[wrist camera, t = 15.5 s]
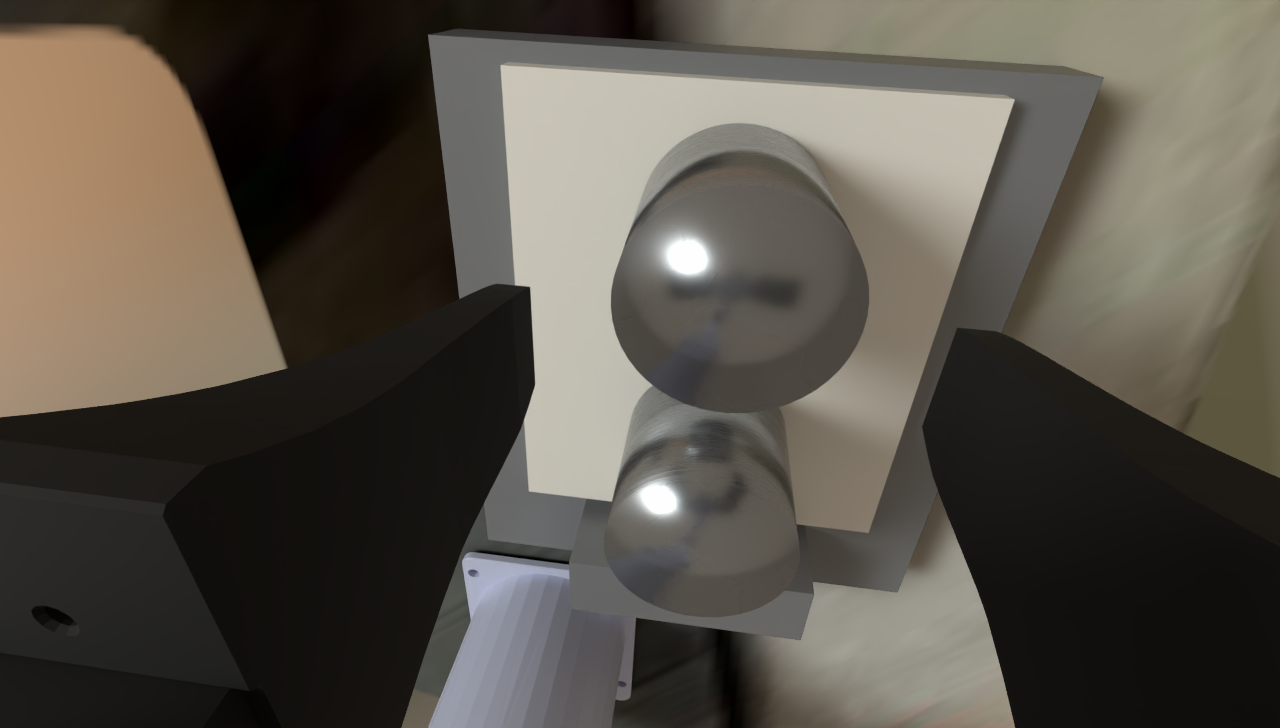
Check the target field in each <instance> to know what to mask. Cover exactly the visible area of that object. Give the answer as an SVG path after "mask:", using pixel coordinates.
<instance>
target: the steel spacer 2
mask: <svg viewBox="0 0 1280 728" xmlns="http://www.w3.org/2000/svg"><path fill="white" fill-rule="evenodd" d="M604 551H605V556H606V559H607V562H608V565H609V566H610V568H611V570H612V572H613V573H614V575H615V576H616V577H617V579H618V580H619V581H620V582H621V583H622V584H623V585H624V586H625V587H626V588H627V589H628V590H629V591H631V592H632V593H633V594H634V595H636V596H638V597H639V598H641V599H642V600H644V601H646V602H648V603H650V604H652V605H654V606H656V607H659V608H661V609H664V610H667V611H670V612H674V613H678V614H682V615H687V616H695V617H726V616H733V615H738V614H742V613H746V612H749V611H752V610H755V609H757V608H760V607H762V606H764V605H766V604H768V603H769V602H771V601H773V600H774V599H775V598H777V597H778V596H779V595H780V594H782V593H783V592H784V591H785V589H786V588H787V587H788V586H789V585H790V583H791V582H792V580H793V579H794V577H795V574H796V572H797V570H798V565H799V560H800V550H799V541H798V532H797V524H796V515H795V506H794V497H793V489H792V480H791V471H790V462H789V454H788V445H787V436H786V428H785V421H784V418H783V415H782V413H781V411H780V409H779V407H778V408H774V409H770V410H765V411H760V412H752V413H722V412H713V411H708V410H704V409H699V408H696V407H693V406H690V405H687V404H684V403H682V402H680V401H678V400H676V399H673V398H671V397H670V396H668V395H666V394H665V393H663V392H661V391H660V390H658V389H657V388H656V387H654V386H653V385H652V386H651V387H650V388H649V389H648V390H647V391H646V392H645V393H644V394H643V395H642V396H641V398H640V399H639V400H638V402H637V404H636V406H635V408H634V410H633V413H632V416H631V421H630V425H629V429H628V434H627V438H626V442H625V447H624V451H623V455H622V460H621V464H620V468H619V473H618V477H617V482H616V486H615V490H614V495H613V499H612V503H611V508H610V512H609V516H608V521H607V525H606V529H605V535H604Z"/></svg>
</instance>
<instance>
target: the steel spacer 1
mask: <svg viewBox="0 0 1280 728" xmlns="http://www.w3.org/2000/svg"><path fill="white" fill-rule="evenodd" d="M868 308H869V284H868V278H867V273H866V269H865V266H864V263H863V260H862V257H861V255H860V253H859V250H858V248H857V246H856V244H855V242H854V240H853V237H852V235H851V233H850V231H849V229H848V227H847V224H846V222H845V220H844V218H843V216H842V213H841V211H840V209H839V207H838V205H837V203H836V200H835V198H834V196H833V194H832V192H831V190H830V187H829V185H828V183H827V181H826V179H825V177H824V175H823V173H822V171H821V169H820V167H819V165H818V164H817V163H816V161H815V160H814V158H813V157H812V156H811V155H810V154H809V153H808V152H807V151H806V150H805V149H804V148H803V146H801V145H800V144H799V143H797V142H796V141H795V140H793V139H792V138H790V137H789V136H787V135H785V134H783V133H781V132H779V131H777V130H774V129H771V128H769V127H765V126H760V125H756V124H747V123H732V124H723V125H718V126H713V127H710V128H707V129H704V130H701V131H699V132H697V133H695V134H693V135H691V136H689V137H687V138H685V139H684V140H682V141H681V142H679V143H678V144H677V145H675V146H674V147H673V148H672V149H671V150H670V151H669V152H667V153H666V155H665V156H664V157H663V158H662V159H661V160H660V161H659V163H658V164H657V166H656V167H655V169H654V170H653V172H652V173H651V175H650V177H649V179H648V181H647V183H646V185H645V188H644V191H643V194H642V197H641V200H640V203H639V205H638V208H637V211H636V214H635V217H634V220H633V223H632V225H631V228H630V231H629V234H628V237H627V240H626V243H625V245H624V248H623V251H622V254H621V257H620V260H619V263H618V266H617V269H616V272H615V275H614V278H613V284H612V289H611V314H612V321H613V325H614V329H615V333H616V336H617V338H618V341H619V343H620V345H621V348H622V349H623V351H624V353H625V355H626V356H627V358H628V360H629V361H630V362H631V364H632V365H633V366H634V367H635V369H636V370H637V371H638V372H639V373H640V374H641V375H642V376H643V377H644V378H645V379H646V380H647V381H648V382H649V383H651V384H652V385H653V386H654V387H656V388H657V389H658V390H660V391H661V392H663V393H665V394H666V395H668V396H670V397H671V398H673V399H676V400H678V401H680V402H682V403H684V404H687V405H690V406H693V407H696V408H699V409H704V410H708V411H713V412H722V413H752V412H760V411H765V410H770V409H774V408H778V407H781V406H784V405H787V404H790V403H792V402H794V401H796V400H799V399H801V398H803V397H805V396H807V395H808V394H810V393H812V392H813V391H815V390H817V389H818V388H819V387H821V386H822V385H823V384H825V383H826V382H827V381H829V380H830V379H831V378H832V377H833V376H834V375H835V374H836V373H837V372H838V371H839V370H840V369H841V368H842V366H843V365H844V364H845V363H846V361H847V360H848V359H849V358H850V356H851V354H852V353H853V351H854V350H855V348H856V346H857V344H858V342H859V340H860V338H861V335H862V333H863V330H864V327H865V323H866V320H867V316H868Z"/></svg>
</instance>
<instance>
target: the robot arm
mask: <svg viewBox="0 0 1280 728" xmlns="http://www.w3.org/2000/svg"><path fill="white" fill-rule="evenodd" d="M534 387H535V369H534V350H533V331H532V312H531V293H530V287H527V286H517V285H506V284H493V285H490V286H487V287H485V288H482V289H480V290H478V291H475V292H473V293H471V294H469V295H467V296H465V297H463V298H460V299H458V300H456V301H454V302H452V303H450V304H448V305H446V306H444V307H442V308H440V309H438V310H436V311H434V312H432V313H429V314H427V315H425V316H423V317H421V318H419V319H417V320H415V321H413V322H410V323H408V324H406V325H404V326H401V327H399V328H397V329H394V330H392V331H390V332H387V333H385V334H383V335H380V336H378V337H376V338H373V339H371V340H369V341H367V342H364V343H362V344H359V345H356V346H354V347H351V348H349V349H346V350H343V351H340V352H338V353H335V354H332V355H329V356H326V357H323V358H320V359H317V360H314V361H311V362H307V363H304V364H301V365H298V366H294V367H291V368H288V369H284V370H280V371H276V372H272V373H268V374H264V375H260V376H256V377H252V378H248V379H245V380H241V381H237V382H233V383H229V384H225V385H220V386H216V387H211V388H206V389H201V390H196V391H191V392H186V393H181V394H175V395H170V396H163V397H158V398H152V399H147V400H141V401H134V402H127V403H121V404H114V405H107V406H98V407H89V408H81V409H73V410H65V411H56V412H47V413H39V414H30V415H20V416H10V417H1V418H0V728H401V727H402V723H403V720H404V717H405V714H406V711H407V708H408V705H409V701H410V698H411V695H412V692H413V689H414V686H415V683H416V680H417V676H418V673H419V670H420V667H421V664H422V661H423V658H424V655H425V652H426V649H427V646H428V643H429V640H430V637H431V634H432V631H433V629H434V626H435V623H436V620H437V617H438V614H439V611H440V608H441V605H442V602H443V600H444V597H445V594H446V591H447V589H448V586H449V583H450V581H451V578H452V575H453V573H454V570H455V567H456V564H457V562H458V559H459V556H460V554H461V551H462V548H463V546H464V544H465V542H466V539H467V537H468V535H469V533H470V531H471V528H472V526H473V524H474V522H475V520H476V518H477V516H478V514H479V512H480V510H481V508H482V506H483V504H484V502H485V500H486V498H487V496H488V494H489V492H490V490H491V488H492V486H493V485H494V483H495V481H496V479H497V477H498V475H499V473H500V471H501V469H502V467H503V465H504V463H505V461H506V459H507V457H508V455H509V453H510V451H511V449H512V447H513V445H514V443H515V441H516V438H517V436H518V434H519V432H520V430H521V428H522V425H523V422H524V419H525V416H526V413H527V410H528V407H529V404H530V400H531V397H532V394H533V391H534ZM922 429H923V434H924V440H925V445H926V450H927V455H928V459H929V463H930V467H931V471H932V476H933V479H934V481H935V484H936V487H937V489H938V492H939V495H940V497H941V500H942V502H943V505H944V507H945V510H946V513H947V515H948V518H949V520H950V523H951V525H952V528H953V530H954V533H955V535H956V538H957V540H958V543H959V545H960V548H961V550H962V553H963V555H964V558H965V560H966V563H967V565H968V568H969V570H970V573H971V575H972V578H973V580H974V583H975V585H976V588H977V590H978V593H979V596H980V599H981V601H982V604H983V607H984V610H985V613H986V616H987V619H988V622H989V626H990V630H991V634H992V637H993V641H994V645H995V648H996V652H997V656H998V659H999V663H1000V667H1001V671H1002V674H1003V678H1004V682H1005V686H1006V691H1007V695H1008V699H1009V703H1010V707H1011V712H1012V716H1013V720H1014V724H1015V728H1280V478H1278V477H1276V476H1274V475H1271V474H1269V473H1267V472H1265V471H1262V470H1260V469H1258V468H1256V467H1253V466H1251V465H1249V464H1247V463H1245V462H1243V461H1240V460H1238V459H1236V458H1233V457H1231V456H1229V455H1227V454H1225V453H1223V452H1221V451H1218V450H1216V449H1214V448H1212V447H1210V446H1207V445H1205V444H1203V443H1201V442H1199V441H1197V440H1195V439H1193V438H1191V437H1189V436H1187V435H1185V434H1183V433H1181V432H1179V431H1177V430H1176V429H1174V428H1172V427H1170V426H1168V425H1166V424H1164V423H1162V422H1160V421H1159V420H1157V419H1155V418H1153V417H1151V416H1149V415H1147V414H1145V413H1143V412H1142V411H1140V410H1138V409H1136V408H1134V407H1132V406H1131V405H1129V404H1127V403H1125V402H1123V401H1122V400H1120V399H1118V398H1116V397H1115V396H1113V395H1111V394H1109V393H1108V392H1106V391H1104V390H1102V389H1101V388H1099V387H1097V386H1095V385H1094V384H1092V383H1090V382H1089V381H1087V380H1085V379H1083V378H1082V377H1080V376H1078V375H1077V374H1075V373H1073V372H1072V371H1070V370H1068V369H1066V368H1065V367H1063V366H1061V365H1060V364H1058V363H1056V362H1054V361H1053V360H1051V359H1049V358H1048V357H1046V356H1044V355H1042V354H1041V353H1039V352H1037V351H1035V350H1034V349H1032V348H1030V347H1028V346H1026V345H1024V344H1023V343H1021V342H1019V341H1017V340H1015V339H1013V338H1011V337H1009V336H1007V335H1004V334H1002V333H999V332H997V331H988V330H978V329H967V328H957V329H956V332H955V335H954V338H953V341H952V343H951V346H950V349H949V352H948V355H947V358H946V360H945V363H944V366H943V369H942V372H941V374H940V377H939V380H938V383H937V386H936V388H935V391H934V394H933V397H932V400H931V402H930V405H929V408H928V411H927V414H926V417H925V419H924V422H923V425H922ZM462 565H463V571H464V578H465V584H466V591H467V597H468V604H469V610H470V617H471V622H470V625H469V627H468V630H467V632H466V635H465V637H464V640H463V642H462V645H461V647H460V650H459V652H458V655H457V657H456V660H455V662H454V665H453V667H452V670H451V672H450V675H449V677H448V680H447V682H446V685H445V687H444V690H443V692H442V694H441V697H440V700H439V702H438V704H437V707H436V710H435V712H434V714H433V717H432V719H431V722H430V724H429V727H428V728H611V725H612V719H613V712H614V706H615V700H627V699H629V698H630V696H631V689H632V673H633V658H634V643H635V628H636V618H634V617H627V616H620V615H612V614H605V613H598V612H591V611H583V610H576V609H570V583H569V565H568V564H560V563H553V562H545V561H538V560H530V559H522V558H515V557H507V556H499V555H492V554H484V553H477V552H470V553H467V554H466V555H465V557H464V559H463V562H462Z"/></svg>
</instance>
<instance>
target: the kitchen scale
mask: <svg viewBox="0 0 1280 728" xmlns="http://www.w3.org/2000/svg"><path fill="white" fill-rule="evenodd" d="M428 37H429V46H430V54H431V62H432V71H433V79H434V88H435V96H436V104H437V113H438V121H439V129H440V138H441V146H442V155H443V163H444V171H445V180H446V188H447V197H448V205H449V213H450V222H451V230H452V239H453V247H454V255H455V264H456V272H457V280H458V289H459V297H460V298H463V297H465V296H467V295H469V294H471V293H473V292H475V291H478V290H480V289H482V288H485V287H487V286H490V285H493V284H506V285H517V286H527V287H530V293H531V312H532V331H533V350H534V369H535V387H534V391H533V394H532V397H531V400H530V404H529V407H528V410H527V413H526V416H525V419H524V422H523V425H522V428H521V430H520V432H519V434H518V436H517V438H516V441H515V443H514V445H513V447H512V449H511V451H510V453H509V455H508V457H507V459H506V461H505V463H504V465H503V467H502V469H501V471H500V473H499V475H498V477H497V479H496V481H495V483H494V485H493V486H492V488H491V490H490V492H489V494H488V496H487V498H486V500H485V502H484V507H485V515H486V524H487V532H488V540H496V541H503V542H511V543H519V544H527V545H534V546H542V547H550V548H558V549H565V550H572V553H571V557H570V561H569V583H570V609H576V610H583V611H591V612H598V613H605V614H612V615H620V616H627V617H634V618H642V619H649V620H656V621H664V622H671V623H678V624H685V625H693V626H700V627H707V628H715V629H722V630H729V631H737V632H744V633H751V634H758V635H766V636H773V637H780V638H788V639H795V640H801V637H802V634H803V630H804V627H805V624H806V620H807V617H808V613H809V610H810V607H811V603H812V600H813V596H814V590H813V582H821V583H828V584H836V585H844V586H851V587H859V588H867V589H875V590H882V591H890V592H898V590H899V588H900V585H901V583H902V580H903V578H904V575H905V573H906V570H907V568H908V565H909V563H910V560H911V558H912V555H913V553H914V550H915V548H916V545H917V543H918V540H919V538H920V535H921V533H922V530H923V528H924V525H925V523H926V520H927V518H928V515H929V513H930V510H931V508H932V505H933V503H934V500H935V498H936V495H937V493H938V489H937V487H936V484H935V481H934V479H933V476H932V471H931V467H930V463H929V459H928V455H927V450H926V445H925V440H924V434H923V429H922V425H923V422H924V419H925V417H926V414H927V411H928V408H929V405H930V402H931V400H932V397H933V394H934V391H935V388H936V386H937V383H938V380H939V377H940V374H941V372H942V369H943V366H944V363H945V360H946V358H947V355H948V352H949V349H950V346H951V343H952V341H953V338H954V335H955V332H956V329H957V328H967V329H978V330H988V331H997V332H999V333H1002V330H1003V328H1004V325H1005V323H1006V321H1007V318H1008V316H1009V313H1010V311H1011V308H1012V306H1013V303H1014V301H1015V298H1016V296H1017V293H1018V291H1019V288H1020V286H1021V283H1022V281H1023V278H1024V276H1025V273H1026V271H1027V268H1028V266H1029V263H1030V261H1031V258H1032V256H1033V253H1034V251H1035V248H1036V246H1037V243H1038V241H1039V238H1040V236H1041V233H1042V231H1043V228H1044V226H1045V223H1046V221H1047V218H1048V216H1049V213H1050V211H1051V208H1052V206H1053V203H1054V201H1055V198H1056V196H1057V193H1058V191H1059V188H1060V186H1061V183H1062V181H1063V178H1064V176H1065V173H1066V171H1067V168H1068V166H1069V163H1070V161H1071V158H1072V156H1073V153H1074V151H1075V148H1076V146H1077V143H1078V141H1079V138H1080V136H1081V133H1082V131H1083V128H1084V126H1085V123H1086V121H1087V118H1088V116H1089V113H1090V111H1091V108H1092V106H1093V103H1094V101H1095V98H1096V96H1097V93H1098V91H1099V88H1100V86H1101V83H1102V81H1103V78H1104V77H1100V76H1097V75H1093V74H1090V73H1086V72H1082V71H1079V70H1075V69H1072V68H1068V67H1064V66H1048V65H1032V64H1016V63H1000V62H984V61H968V60H952V59H936V58H920V57H903V56H887V55H871V54H855V53H839V52H823V51H807V50H791V49H775V48H759V47H743V46H726V45H710V44H694V43H678V42H662V41H646V40H630V39H614V38H598V37H582V36H566V35H549V34H533V33H517V32H501V31H485V30H469V29H454V30H449V31H445V32H440V33H435V34H430V35H428ZM732 123H747V124H756V125H760V126H765V127H769V128H771V129H774V130H777V131H779V132H781V133H783V134H785V135H787V136H789V137H790V138H792V139H793V140H795V141H796V142H797V143H799V144H800V145H801V146H803V148H804V149H805V150H806V151H807V152H808V153H809V154H810V155H811V156H812V157H813V158H814V160H815V161H816V163H817V164H818V165H819V167H820V169H821V171H822V173H823V175H824V177H825V179H826V181H827V183H828V185H829V187H830V190H831V192H832V194H833V196H834V198H835V200H836V203H837V205H838V207H839V209H840V211H841V213H842V216H843V218H844V220H845V222H846V224H847V227H848V229H849V231H850V233H851V235H852V237H853V240H854V242H855V244H856V246H857V248H858V250H859V253H860V255H861V257H862V260H863V263H864V266H865V269H866V273H867V278H868V284H869V308H868V316H867V320H866V323H865V327H864V330H863V333H862V335H861V338H860V340H859V342H858V344H857V346H856V348H855V350H854V351H853V353H852V354H851V356H850V358H849V359H848V360H847V361H846V363H845V364H844V365H843V366H842V368H841V369H840V370H839V371H838V372H837V373H836V374H835V375H834V376H833V377H832V378H831V379H830V380H829V381H827V382H826V383H825V384H823V385H822V386H821V387H819V388H818V389H817V390H815V391H813V392H812V393H810V394H808V395H807V396H805V397H803V398H801V399H799V400H796V401H794V402H792V403H790V404H787V405H784V406H781V407H779V409H780V411H781V413H782V415H783V418H784V421H785V428H786V436H787V445H788V454H789V462H790V471H791V480H792V489H793V497H794V506H795V515H796V524H797V532H798V541H799V550H800V560H799V565H798V570H797V572H796V574H795V577H794V579H793V580H792V582H791V583H790V585H789V586H788V587H787V588H786V589H785V591H784V592H783V593H782V594H780V595H779V596H778V597H777V598H775V599H774V600H773V601H771V602H769V603H768V604H766V605H764V606H762V607H760V608H757V609H755V610H752V611H749V612H746V613H742V614H738V615H733V616H726V617H695V616H687V615H682V614H678V613H674V612H670V611H667V610H664V609H661V608H659V607H656V606H654V605H652V604H650V603H648V602H646V601H644V600H642V599H641V598H639V597H638V596H636V595H634V594H633V593H632V592H631V591H629V590H628V589H627V588H626V587H625V586H624V585H623V584H622V583H621V582H620V581H619V580H618V579H617V577H616V576H615V575H614V573H613V572H612V570H611V568H610V566H609V565H608V562H607V559H606V556H605V551H604V535H605V529H606V525H607V521H608V516H609V512H610V508H611V503H612V499H613V495H614V490H615V486H616V482H617V477H618V473H619V468H620V464H621V460H622V455H623V451H624V447H625V442H626V438H627V434H628V429H629V425H630V421H631V416H632V413H633V410H634V408H635V406H636V404H637V402H638V400H639V399H640V398H641V396H642V395H643V394H644V393H645V392H646V391H647V390H648V389H649V388H650V387H651V386H652V384H651V383H649V382H648V381H647V380H646V379H645V378H644V377H643V376H642V375H641V374H640V373H639V372H638V371H637V370H636V369H635V367H634V366H633V365H632V364H631V362H630V361H629V360H628V358H627V356H626V355H625V353H624V351H623V349H622V348H621V345H620V343H619V341H618V338H617V336H616V333H615V329H614V325H613V321H612V314H611V289H612V284H613V278H614V275H615V272H616V269H617V266H618V263H619V260H620V257H621V254H622V251H623V248H624V245H625V243H626V240H627V237H628V234H629V231H630V228H631V225H632V223H633V220H634V217H635V214H636V211H637V208H638V205H639V203H640V200H641V197H642V194H643V191H644V188H645V185H646V183H647V181H648V179H649V177H650V175H651V173H652V172H653V170H654V169H655V167H656V166H657V164H658V163H659V161H660V160H661V159H662V158H663V157H664V156H665V155H666V153H667V152H669V151H670V150H671V149H672V148H673V147H674V146H675V145H677V144H678V143H679V142H681V141H682V140H684V139H685V138H687V137H689V136H691V135H693V134H695V133H697V132H699V131H701V130H704V129H707V128H710V127H713V126H718V125H723V124H732ZM812 581H813V582H812Z"/></svg>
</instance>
